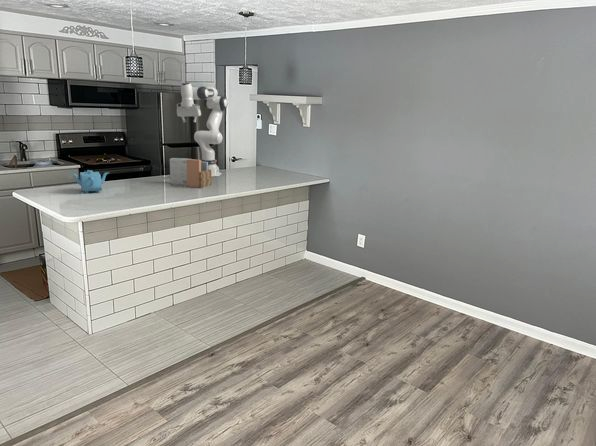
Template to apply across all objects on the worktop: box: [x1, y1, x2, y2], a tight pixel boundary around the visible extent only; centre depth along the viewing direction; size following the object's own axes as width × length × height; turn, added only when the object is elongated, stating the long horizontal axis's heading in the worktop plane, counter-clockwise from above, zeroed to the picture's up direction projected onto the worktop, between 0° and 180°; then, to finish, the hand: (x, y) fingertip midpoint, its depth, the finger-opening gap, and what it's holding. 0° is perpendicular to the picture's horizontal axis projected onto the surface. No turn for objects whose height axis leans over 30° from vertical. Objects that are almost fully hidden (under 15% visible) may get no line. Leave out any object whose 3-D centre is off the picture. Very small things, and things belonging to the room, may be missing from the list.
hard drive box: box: [169, 157, 188, 186], centre depth 351 cm, size 16×8×20 cm, turn 84°
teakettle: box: [70, 169, 109, 194], centre depth 310 cm, size 19×19×15 cm
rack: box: [199, 169, 213, 189], centre depth 348 cm, size 18×2×12 cm, turn 166°
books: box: [186, 158, 208, 189], centre depth 348 cm, size 16×10×21 cm, turn 166°
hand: (189, 122), depth 354 cm, fingers open, 8 cm apart
